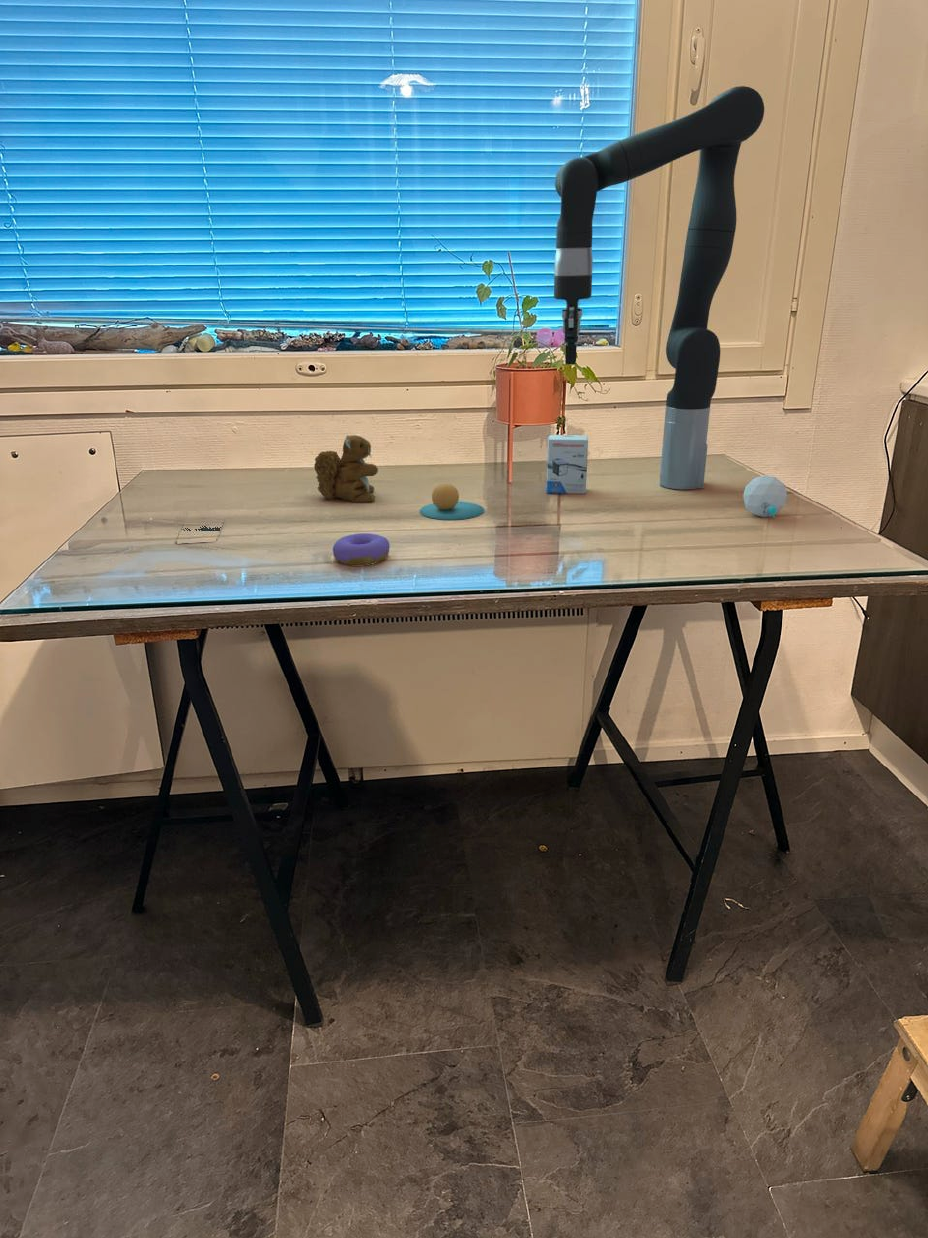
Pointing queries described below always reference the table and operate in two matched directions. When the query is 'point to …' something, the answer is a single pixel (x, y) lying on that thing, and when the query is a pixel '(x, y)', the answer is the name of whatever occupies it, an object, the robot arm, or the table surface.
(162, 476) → the table surface
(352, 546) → the donut
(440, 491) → the ball
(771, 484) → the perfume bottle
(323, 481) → the stuffed squirrel
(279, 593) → the table surface
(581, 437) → the ink box
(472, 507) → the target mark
